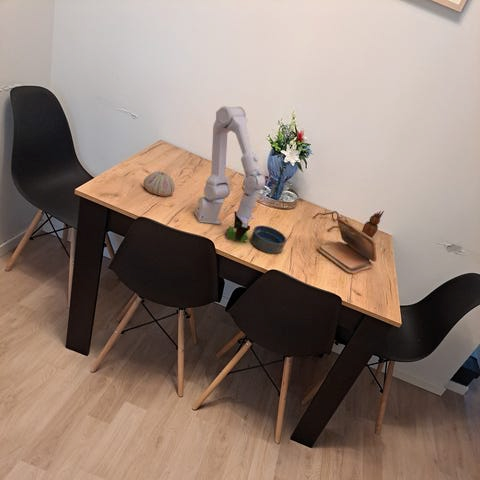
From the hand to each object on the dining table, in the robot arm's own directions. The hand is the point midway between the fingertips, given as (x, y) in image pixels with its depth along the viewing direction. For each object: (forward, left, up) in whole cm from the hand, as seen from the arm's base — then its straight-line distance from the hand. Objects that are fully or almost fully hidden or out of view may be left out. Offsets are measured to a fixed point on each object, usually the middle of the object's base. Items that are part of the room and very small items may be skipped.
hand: (236, 234), depth 186 cm
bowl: (+12, -3, -1) cm, 13 cm away
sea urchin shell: (-25, +34, -2) cm, 42 cm away
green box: (0, 0, -1) cm, 1 cm away
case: (+50, -8, -2) cm, 51 cm away
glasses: (+60, +23, -2) cm, 65 cm away
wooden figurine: (+78, +15, -2) cm, 80 cm away
